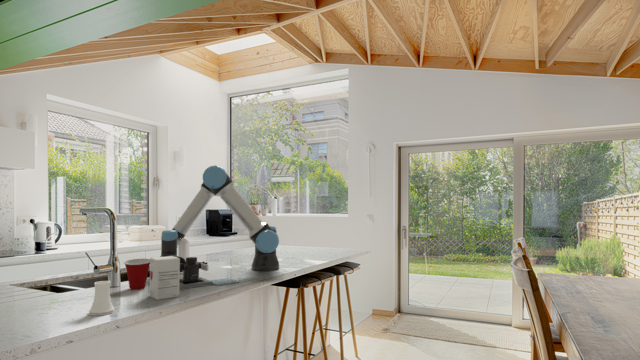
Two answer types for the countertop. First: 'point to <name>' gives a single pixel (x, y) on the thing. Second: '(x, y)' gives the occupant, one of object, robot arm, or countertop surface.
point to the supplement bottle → (191, 271)
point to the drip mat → (223, 281)
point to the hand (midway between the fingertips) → (192, 269)
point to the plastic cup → (137, 272)
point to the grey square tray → (191, 285)
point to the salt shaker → (102, 299)
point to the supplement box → (164, 277)
